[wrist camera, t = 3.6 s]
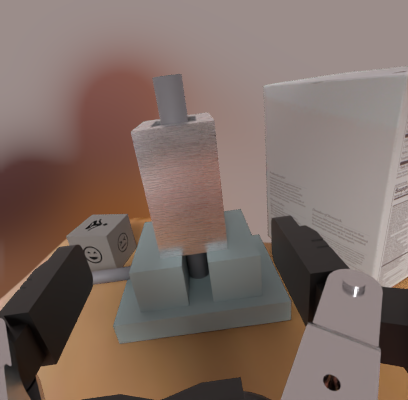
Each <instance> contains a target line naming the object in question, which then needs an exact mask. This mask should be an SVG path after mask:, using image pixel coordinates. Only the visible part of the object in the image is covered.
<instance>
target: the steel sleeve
mask: <svg viewBox="0 0 408 400" xmlns="http://www.w3.org/2000/svg"><path fill="white" fill-rule="evenodd" d="M187 116H188V122H183V123H176V124H169V125H161V121H160V119H158V120H150V121H144V122H142V123H141V124H140V125H139V126H138V127H136V128H135V129H134V130H132V131H131V135H132V139H133V143H134V148H135V151H136V156H137V160H138V164H139V168H140V173H141V177H142V181H143V186H144V190H145V194H146V198H147V203H148V206H149V211H150V215H151V220H152V224H153V228H154V232H155V237H156V241H157V245H158V249H159V254H160V258H161V259H163V258H170V257H177V256H185V255H192V254H199V253H206V252H213V251H221V250H228V246H227V237H226V227H225V218H224V209H223V199H222V190H221V181H220V171H219V161H218V152H217V143H216V135H215V134H216V133H215V124H214V120H213V118H212V117H211V116H210V114H209V113H201V114H195V115H187Z"/></svg>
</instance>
